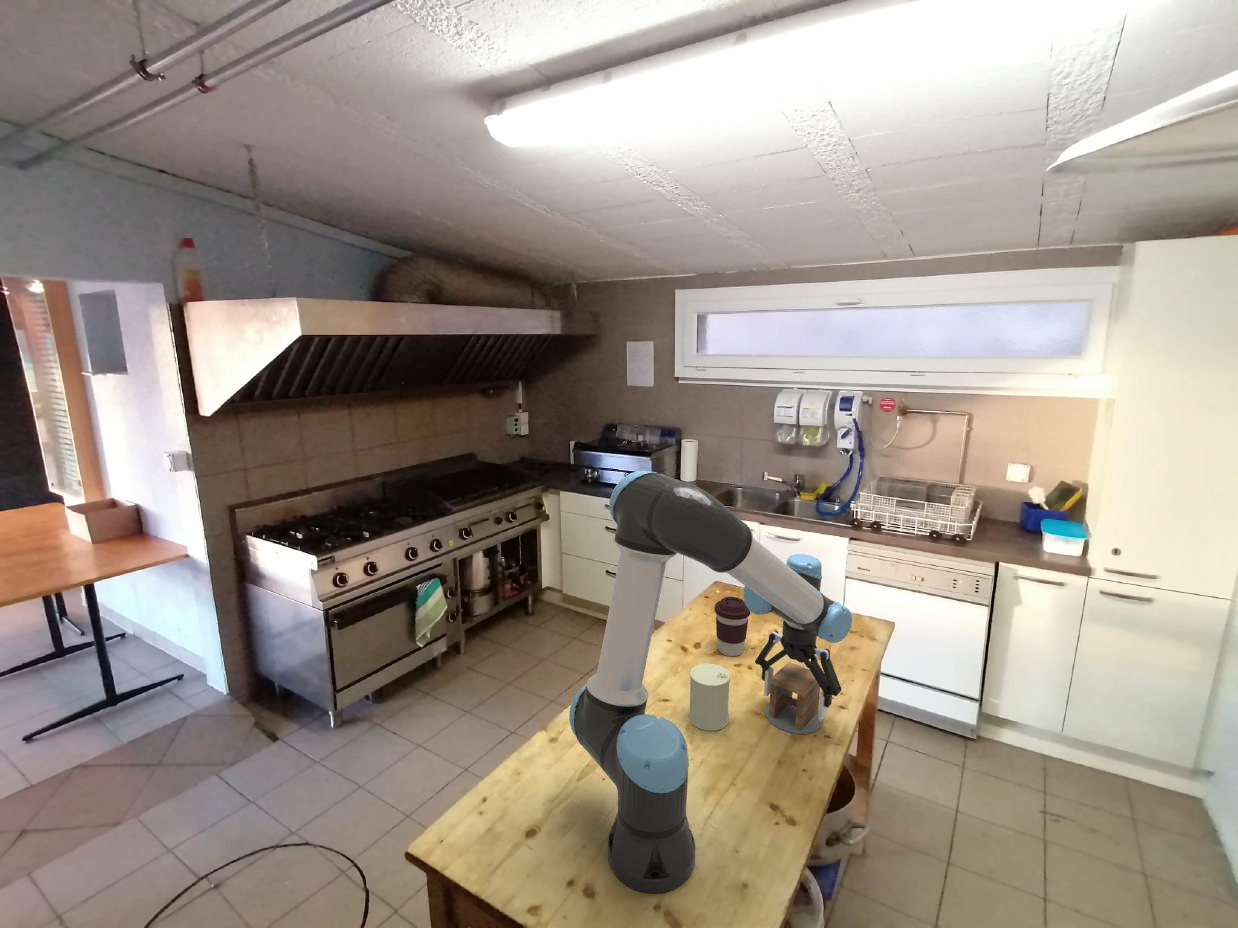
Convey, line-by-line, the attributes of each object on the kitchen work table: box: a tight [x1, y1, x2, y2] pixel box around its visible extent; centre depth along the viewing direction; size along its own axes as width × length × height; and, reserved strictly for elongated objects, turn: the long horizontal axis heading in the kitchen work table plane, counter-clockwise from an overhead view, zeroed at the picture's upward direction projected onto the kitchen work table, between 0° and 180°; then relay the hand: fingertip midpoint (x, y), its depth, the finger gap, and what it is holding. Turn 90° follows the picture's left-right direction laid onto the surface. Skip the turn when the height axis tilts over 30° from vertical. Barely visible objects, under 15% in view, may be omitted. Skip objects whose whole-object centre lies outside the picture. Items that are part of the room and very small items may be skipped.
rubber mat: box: [764, 697, 824, 735], centre depth 139 cm, size 13×13×1 cm
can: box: [688, 663, 731, 732], centre depth 137 cm, size 9×9×12 cm
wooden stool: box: [769, 661, 821, 730], centre depth 138 cm, size 8×9×10 cm
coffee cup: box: [714, 596, 751, 657], centre depth 167 cm, size 10×10×15 cm
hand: (794, 705), depth 139 cm, fingers open, 13 cm apart
